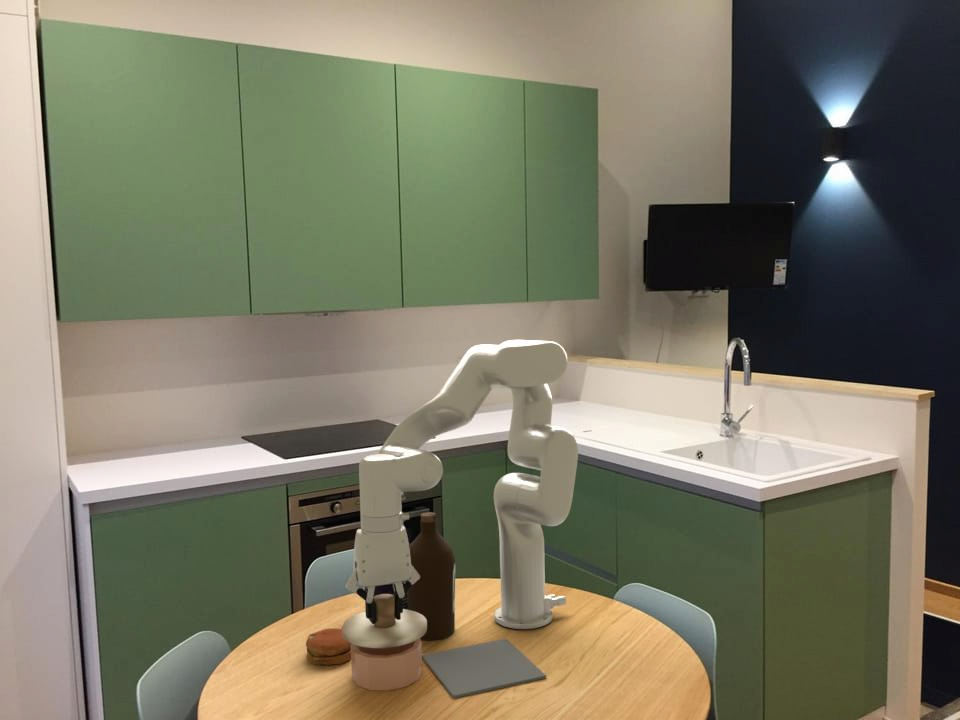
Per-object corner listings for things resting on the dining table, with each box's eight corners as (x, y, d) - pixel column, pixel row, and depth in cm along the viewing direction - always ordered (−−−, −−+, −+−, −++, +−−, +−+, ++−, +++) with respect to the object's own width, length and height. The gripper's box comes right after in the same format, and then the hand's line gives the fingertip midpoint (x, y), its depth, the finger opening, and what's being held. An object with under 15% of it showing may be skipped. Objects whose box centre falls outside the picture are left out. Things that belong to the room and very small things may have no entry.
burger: (358, 662, 161) (357, 639, 161) (309, 671, 158) (308, 647, 158) (349, 643, 171) (348, 620, 170) (303, 650, 168) (302, 628, 167)
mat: (506, 640, 169) (506, 638, 169) (546, 678, 152) (546, 675, 152) (421, 657, 162) (421, 655, 162) (453, 698, 146) (453, 695, 146)
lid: (412, 609, 165) (411, 578, 165) (438, 638, 151) (437, 604, 150) (334, 622, 159) (332, 590, 159) (353, 654, 145) (352, 619, 144)
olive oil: (414, 645, 168) (410, 523, 166) (401, 626, 178) (397, 511, 176) (464, 636, 172) (461, 517, 170) (448, 618, 182) (445, 505, 180)
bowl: (409, 654, 164) (408, 624, 163) (430, 681, 152) (429, 649, 152) (346, 666, 159) (345, 636, 159) (362, 695, 148) (361, 663, 147)
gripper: (418, 512, 160) (421, 605, 161) (331, 522, 154) (335, 619, 155) (431, 521, 153) (433, 619, 154) (340, 533, 147) (344, 634, 148)
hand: (384, 618), depth 155 cm, fingers closed on lid, 4 cm apart
